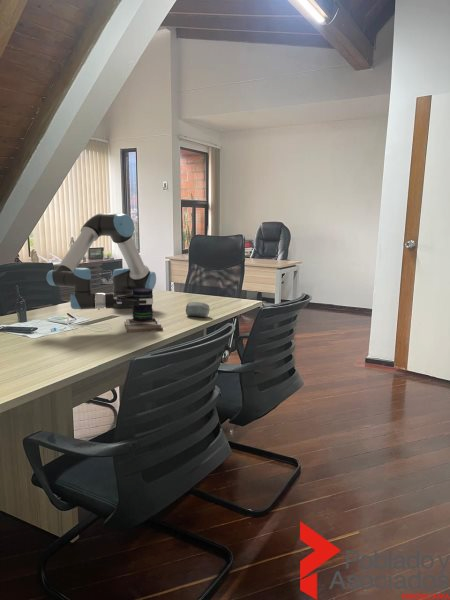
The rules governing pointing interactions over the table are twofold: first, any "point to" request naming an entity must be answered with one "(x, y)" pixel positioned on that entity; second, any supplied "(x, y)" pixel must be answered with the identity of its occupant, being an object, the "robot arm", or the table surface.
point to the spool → (197, 309)
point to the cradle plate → (143, 325)
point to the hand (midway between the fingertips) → (151, 299)
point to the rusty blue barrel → (142, 311)
